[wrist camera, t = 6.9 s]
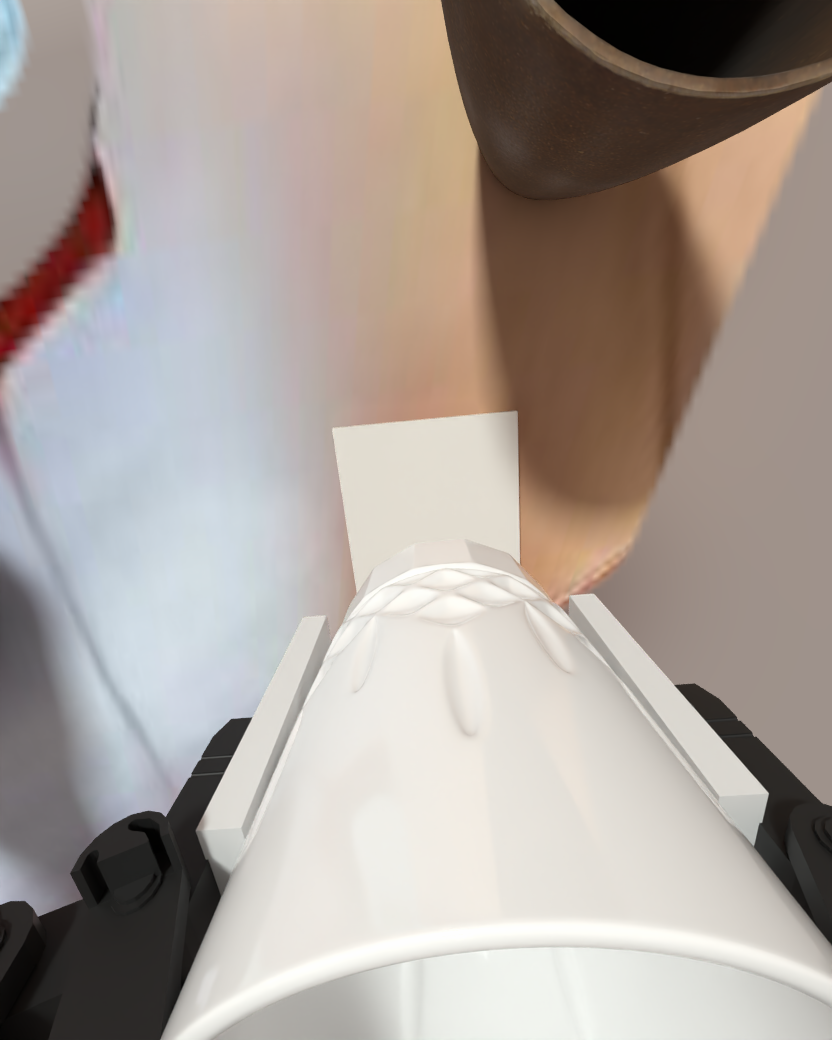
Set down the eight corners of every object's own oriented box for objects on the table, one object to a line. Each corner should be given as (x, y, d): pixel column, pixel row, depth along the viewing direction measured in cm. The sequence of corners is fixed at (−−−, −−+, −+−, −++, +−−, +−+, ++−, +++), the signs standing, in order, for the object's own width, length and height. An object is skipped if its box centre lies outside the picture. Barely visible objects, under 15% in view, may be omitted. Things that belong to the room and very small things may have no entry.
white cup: (565, 505, 12) (1072, 895, 3) (565, 713, 15) (840, 1306, 5) (311, 532, 13) (-18, 971, 3) (351, 732, 15) (236, 1327, 5)
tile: (358, 588, 31) (357, 593, 30) (334, 427, 27) (332, 428, 26) (517, 575, 30) (520, 580, 29) (514, 410, 27) (517, 410, 26)
